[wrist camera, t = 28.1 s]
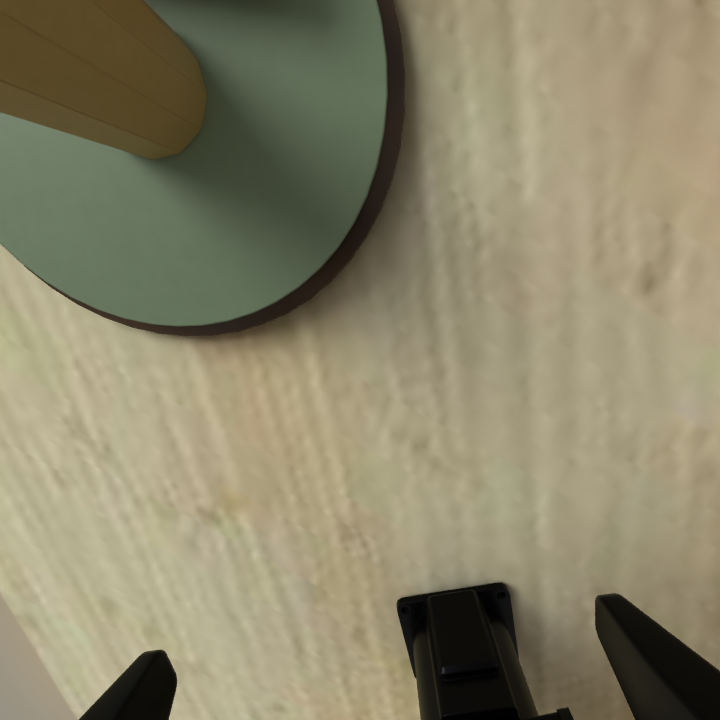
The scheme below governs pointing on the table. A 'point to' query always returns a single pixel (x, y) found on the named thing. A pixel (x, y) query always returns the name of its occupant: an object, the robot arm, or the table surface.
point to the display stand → (358, 229)
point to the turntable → (186, 147)
